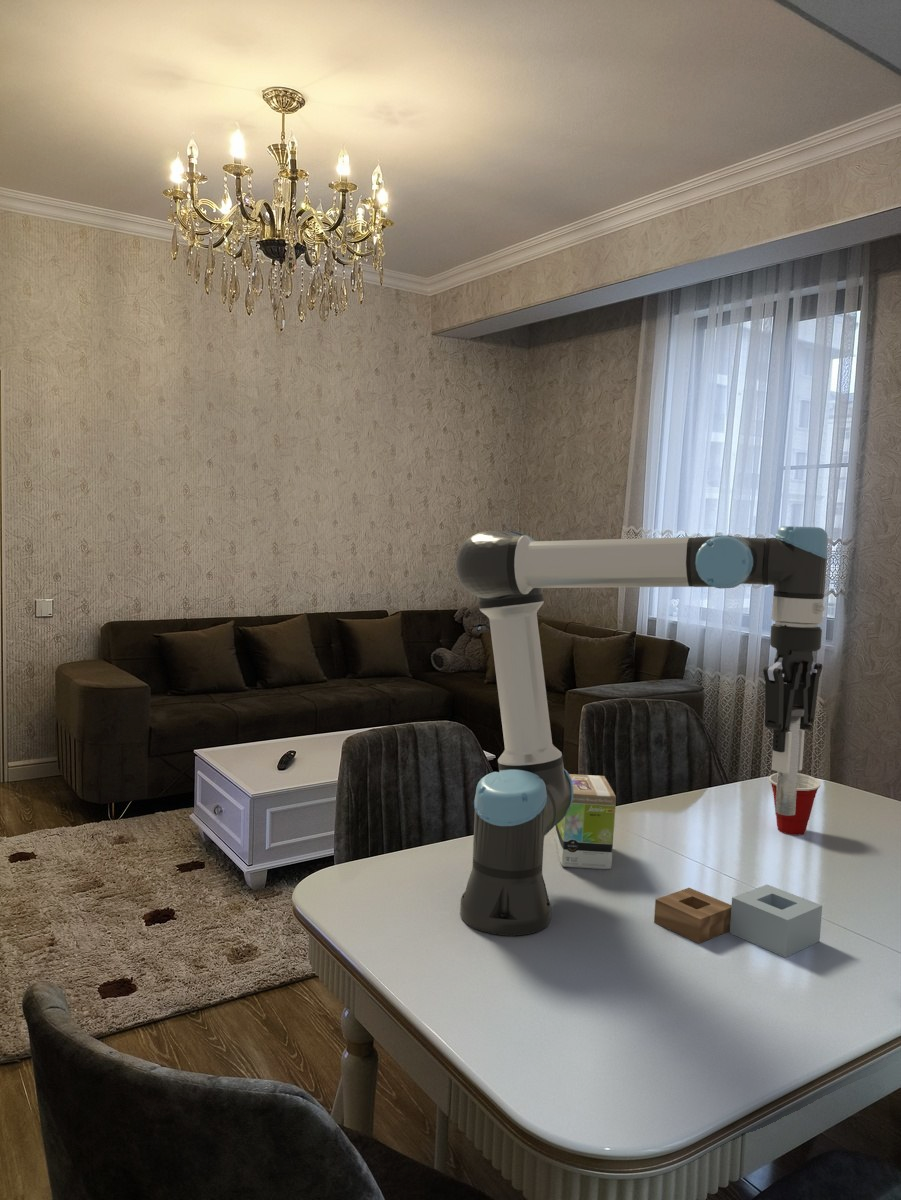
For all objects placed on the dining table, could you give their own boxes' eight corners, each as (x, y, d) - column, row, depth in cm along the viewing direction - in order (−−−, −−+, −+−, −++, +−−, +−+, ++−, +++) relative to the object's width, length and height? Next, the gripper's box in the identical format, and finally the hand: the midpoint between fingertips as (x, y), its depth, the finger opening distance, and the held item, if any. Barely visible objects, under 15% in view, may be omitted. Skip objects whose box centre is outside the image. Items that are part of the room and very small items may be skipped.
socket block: (785, 957, 138) (787, 920, 137) (729, 933, 146) (732, 897, 145) (819, 941, 144) (822, 905, 143) (764, 918, 152) (767, 884, 151)
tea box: (613, 870, 171) (617, 795, 170) (560, 868, 171) (564, 793, 170) (601, 843, 186) (605, 773, 185) (553, 840, 186) (556, 771, 185)
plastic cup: (758, 831, 197) (762, 778, 196) (773, 820, 206) (776, 769, 205) (810, 843, 191) (814, 788, 190) (822, 830, 199) (826, 778, 198)
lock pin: (789, 818, 140) (795, 711, 139) (767, 811, 143) (772, 707, 142) (803, 813, 143) (809, 709, 141) (780, 807, 146) (786, 704, 145)
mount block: (698, 943, 141) (700, 919, 141) (654, 922, 149) (655, 899, 148) (732, 929, 147) (734, 906, 147) (687, 909, 154) (689, 887, 154)
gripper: (790, 628, 133) (779, 782, 135) (845, 624, 143) (835, 768, 144) (746, 623, 139) (736, 771, 141) (802, 620, 149) (793, 758, 150)
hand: (786, 769), depth 143 cm, fingers closed on lock pin, 3 cm apart
